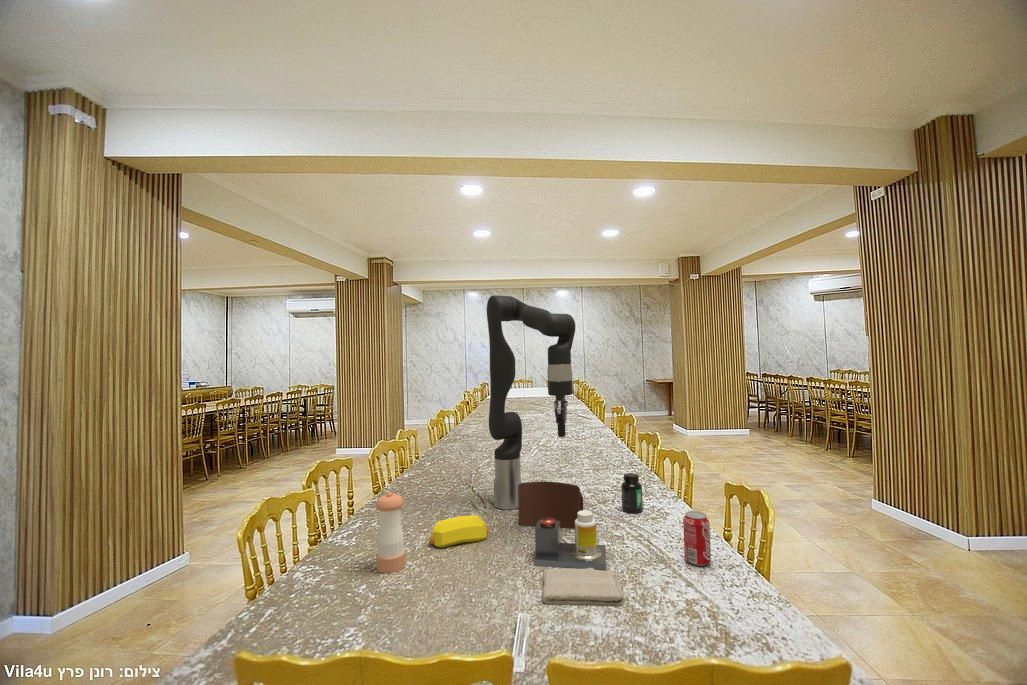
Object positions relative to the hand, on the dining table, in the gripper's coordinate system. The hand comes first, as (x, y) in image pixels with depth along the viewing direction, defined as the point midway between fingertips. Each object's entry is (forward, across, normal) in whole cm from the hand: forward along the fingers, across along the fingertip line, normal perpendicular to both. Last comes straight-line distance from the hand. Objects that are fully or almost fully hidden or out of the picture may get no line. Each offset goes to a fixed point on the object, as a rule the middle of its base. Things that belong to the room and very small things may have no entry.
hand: (561, 436), depth 136 cm
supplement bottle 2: (+29, -22, +21) cm, 42 cm away
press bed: (+29, +16, +3) cm, 33 cm away
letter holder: (+29, -9, -5) cm, 31 cm away
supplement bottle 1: (+28, +16, +7) cm, 32 cm away
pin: (+27, +16, -3) cm, 32 cm away
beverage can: (+29, +14, +35) cm, 48 cm away
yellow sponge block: (+29, +9, -30) cm, 43 cm away
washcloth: (+30, +32, +6) cm, 44 cm away
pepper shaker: (+29, +27, -43) cm, 59 cm away
